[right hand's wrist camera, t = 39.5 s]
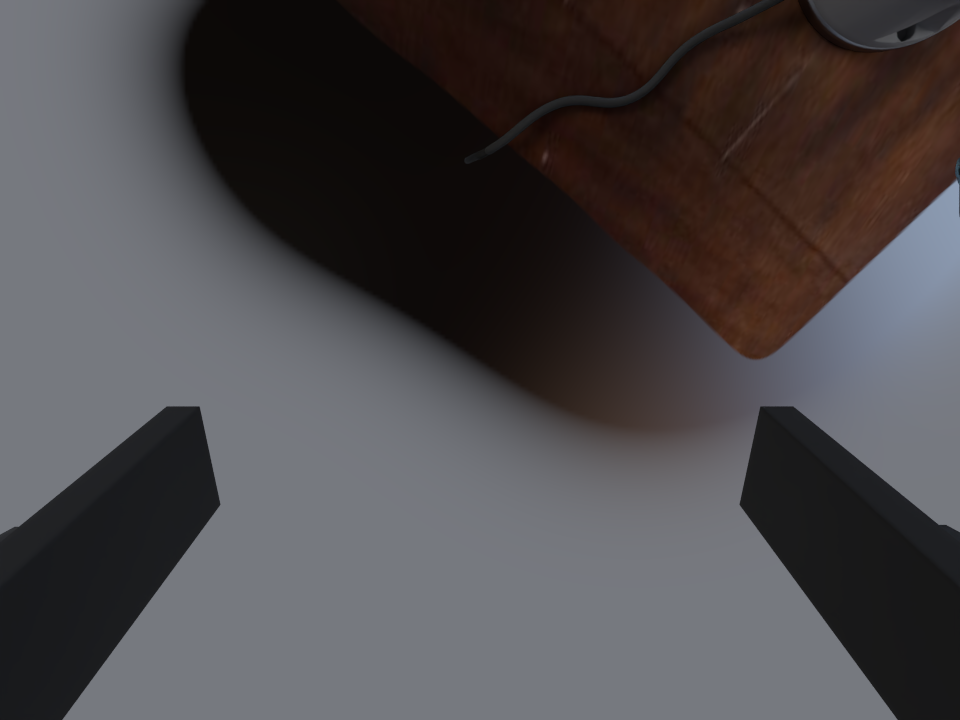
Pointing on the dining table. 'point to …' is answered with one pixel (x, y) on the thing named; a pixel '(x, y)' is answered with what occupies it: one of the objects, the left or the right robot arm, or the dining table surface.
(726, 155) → the dining table surface
